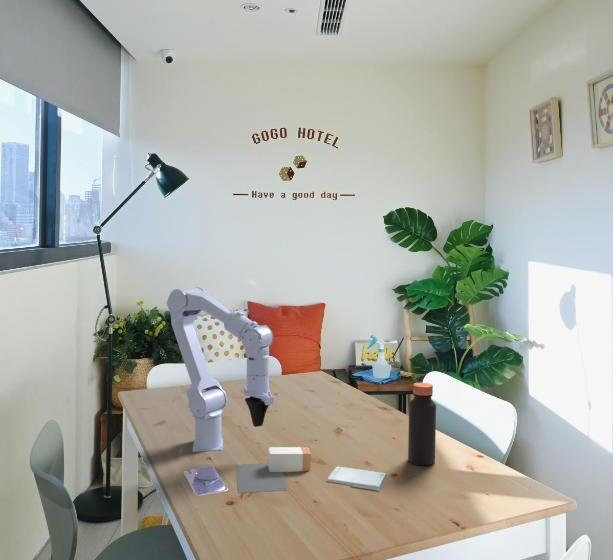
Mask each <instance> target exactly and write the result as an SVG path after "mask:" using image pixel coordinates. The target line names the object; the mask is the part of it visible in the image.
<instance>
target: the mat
mask: <svg viewBox="0 0 613 560" xmlns="http://www.w3.org/2000/svg"><path fill="white" fill-rule="evenodd" d="M236 479H237V481H236V482H237V493H238V494H244V493H245V494H246V493H265V492H280V491H282V492H283V491H285V492H286V491H288V488H287V484H286V480H285V476H284V472H269V468H268V462H267V463H266V462H265V463H248V464H236Z"/></svg>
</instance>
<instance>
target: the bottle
mask: <svg viewBox="0 0 613 560" xmlns="http://www.w3.org/2000/svg"><path fill="white" fill-rule="evenodd" d="M433 387H434V385H433V384H432V383H428V382H415V383H413V384H412V392H413V394H412V395H413V399H412V400H411V401H410V402H409V403H408V440H407V441H408V444H407V445H408V446H407V448H408V449H407V451H408V452H407V454H408V455H407V456H408V457H407V459H408V461H409V462H410V463H411V465H416V466H420V467H428V466H432V465H433V464H435V462H436V434H437V433H436V432H437V429H436V428H437V427H436V425H437V423H436V422H437V420H436V419H437V404H436V403H435V402H434V400H433V399H432V397H433V391H434V390H433Z"/></svg>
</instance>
